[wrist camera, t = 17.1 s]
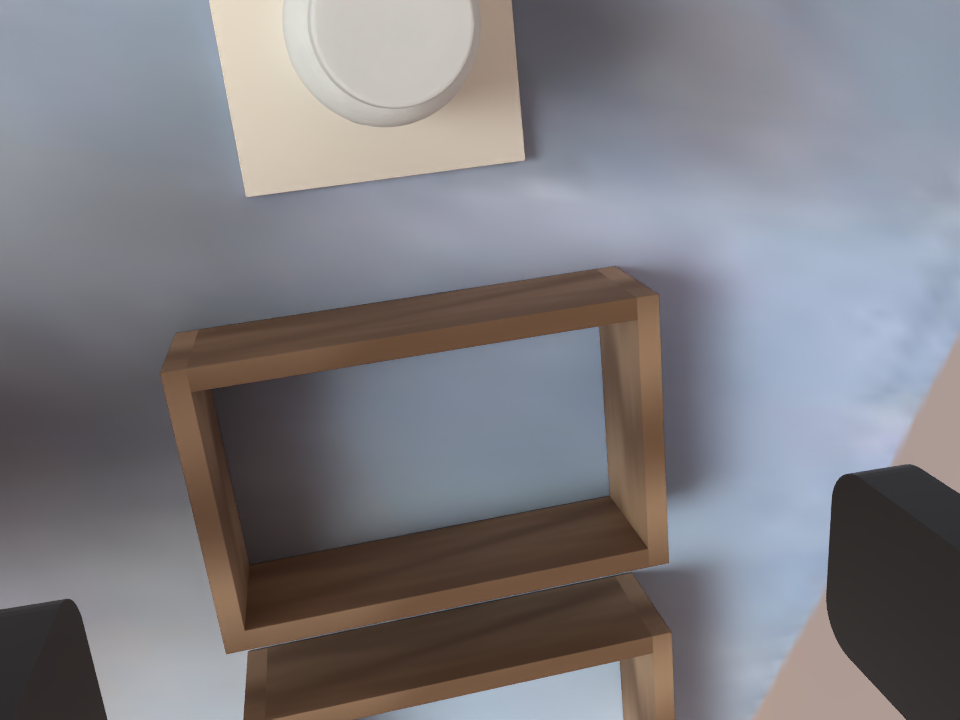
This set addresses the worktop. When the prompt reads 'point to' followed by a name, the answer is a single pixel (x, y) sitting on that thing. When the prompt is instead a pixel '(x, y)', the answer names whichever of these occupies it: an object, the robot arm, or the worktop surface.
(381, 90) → the supplement bottle
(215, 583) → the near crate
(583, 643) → the far crate
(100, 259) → the worktop surface
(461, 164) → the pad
